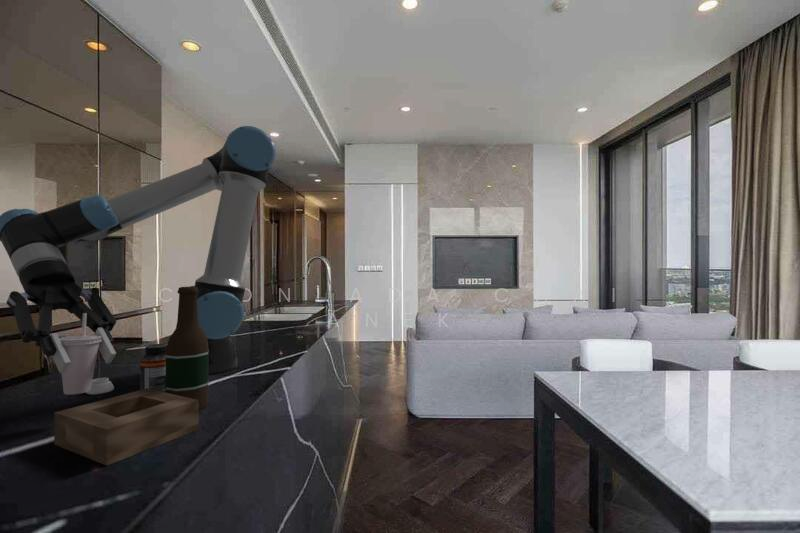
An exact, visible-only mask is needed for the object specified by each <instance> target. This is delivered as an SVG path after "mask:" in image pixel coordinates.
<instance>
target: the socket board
mask: <svg viewBox="0 0 800 533" xmlns="http://www.w3.org/2000/svg"><path fill="white" fill-rule="evenodd" d="M53 412H54V411H53ZM199 414H200V410H199V400H197V399H192V398H188V397H183V396H178V395H174V394H169V393H165V392H160V391H156V390H151V389H143V390H140V389H139V390H136V391H135V390H134V391H131V392H128V393H127V392H126V393H124V394H120V395H117V396H113V397H110V398H109V397H108V398H104V399H101V400H98V401H97V400H96V401H94V402H90V403H85V404H83V405H82V404H81V405H77V406H73V407H70V408H66V409H63V410H60V411H55V412H54V415H53V416H54V417H53V419H54V420H53V421H54V429H53V430H54V433H53V434H54V436H53V437H54V438H53V439H54V443H53V444H54V446H57V447H60V448H62V449H65V450H66V451H69V452H72V453H74V454H76V455H79V456H81V457H85V458H86V459H88V460H91V461H94V462H97V463H99V464H101V465H104V466H110V465H113V464H115V463H117V462H119V461H123V460H125V459H127V458H129V457H132V456H135V455H138V454H139V453H142V452H145V451H148V450H150V449H152V448H153V449H154V448H155V447H157V446H160V445H163V444H165V443H168V442H170V441H173V440H175V439H177V438H178V439H179V438H180V437H183V436H185V435H188V434H191V433H193V432H195V431H199V429H200V428H199V427H200V422H199V421H200V415H199Z"/></svg>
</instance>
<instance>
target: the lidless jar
mask: <svg viewBox="0 0 800 533" xmlns="http://www.w3.org/2000/svg"><path fill="white" fill-rule="evenodd" d="M113 390H115V386H114V384H113V383H112V381H111V380H110V379H109V377H98V378H95V379H94V378H93V379H92V384H91V389H90V391H88V392H85V394H87V395H92V396H93V395H94V396H95V395H101V394H102V395H104V394H107V393H109V392H112V391H113Z"/></svg>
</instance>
